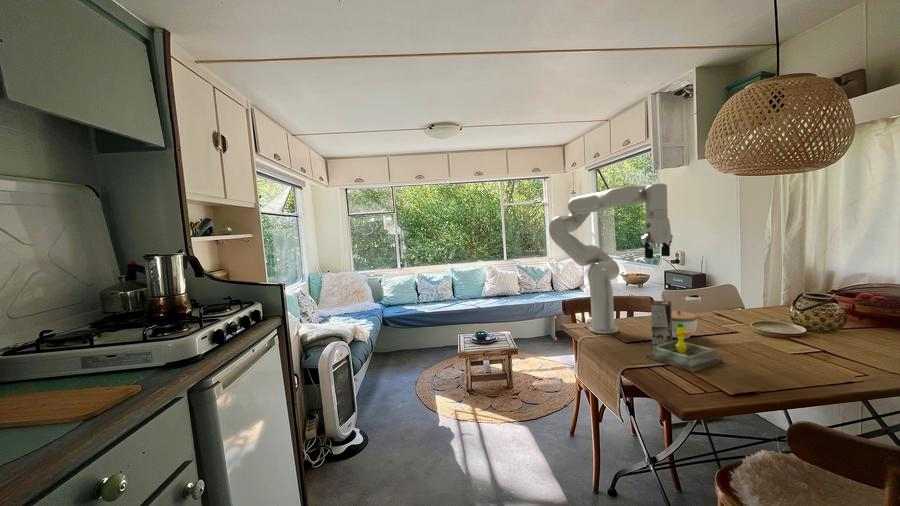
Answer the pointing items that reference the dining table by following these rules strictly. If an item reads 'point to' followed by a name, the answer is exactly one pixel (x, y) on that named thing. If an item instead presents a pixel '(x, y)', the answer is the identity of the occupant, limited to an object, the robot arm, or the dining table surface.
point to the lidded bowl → (685, 318)
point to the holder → (684, 356)
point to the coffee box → (661, 322)
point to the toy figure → (681, 338)
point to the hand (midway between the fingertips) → (657, 257)
